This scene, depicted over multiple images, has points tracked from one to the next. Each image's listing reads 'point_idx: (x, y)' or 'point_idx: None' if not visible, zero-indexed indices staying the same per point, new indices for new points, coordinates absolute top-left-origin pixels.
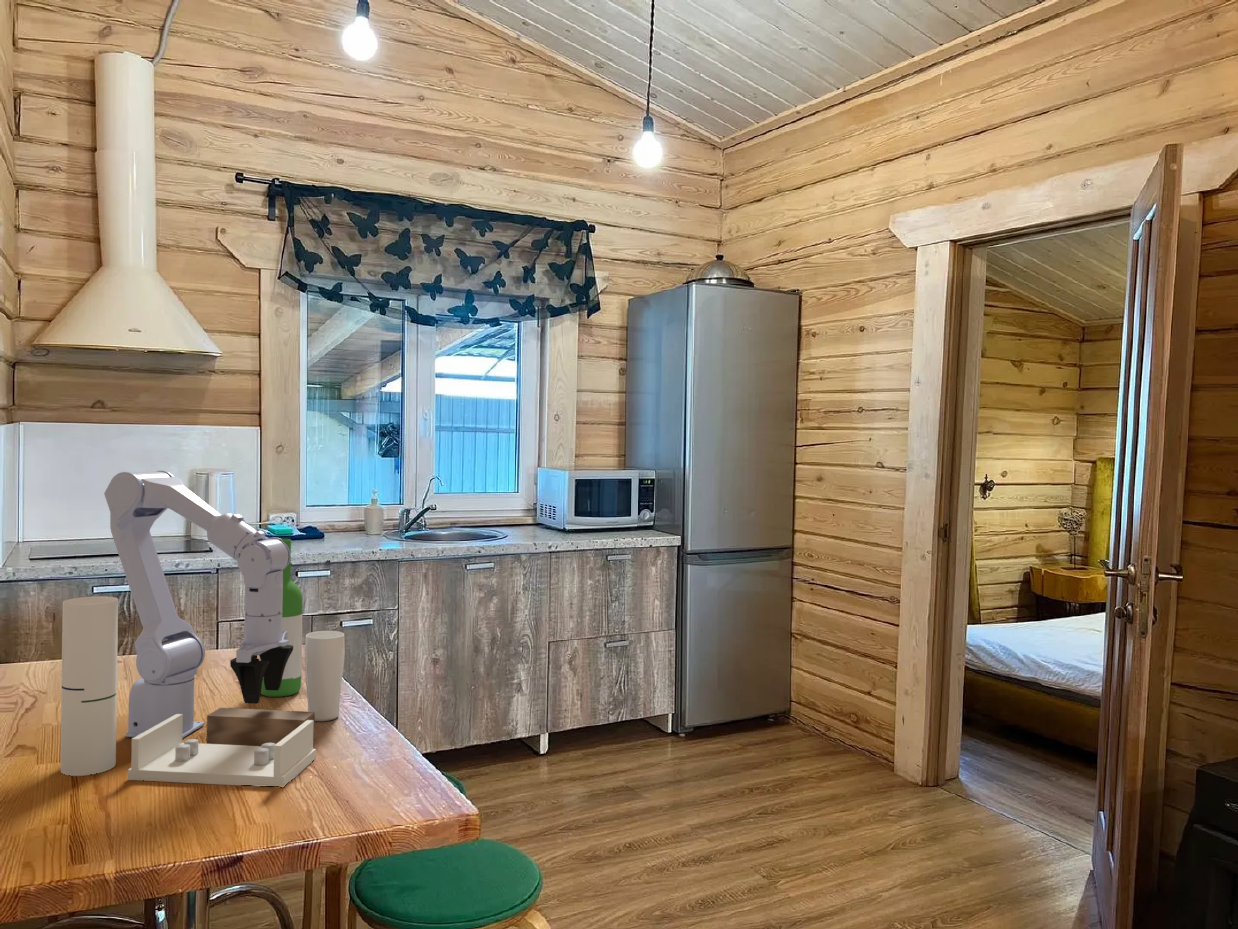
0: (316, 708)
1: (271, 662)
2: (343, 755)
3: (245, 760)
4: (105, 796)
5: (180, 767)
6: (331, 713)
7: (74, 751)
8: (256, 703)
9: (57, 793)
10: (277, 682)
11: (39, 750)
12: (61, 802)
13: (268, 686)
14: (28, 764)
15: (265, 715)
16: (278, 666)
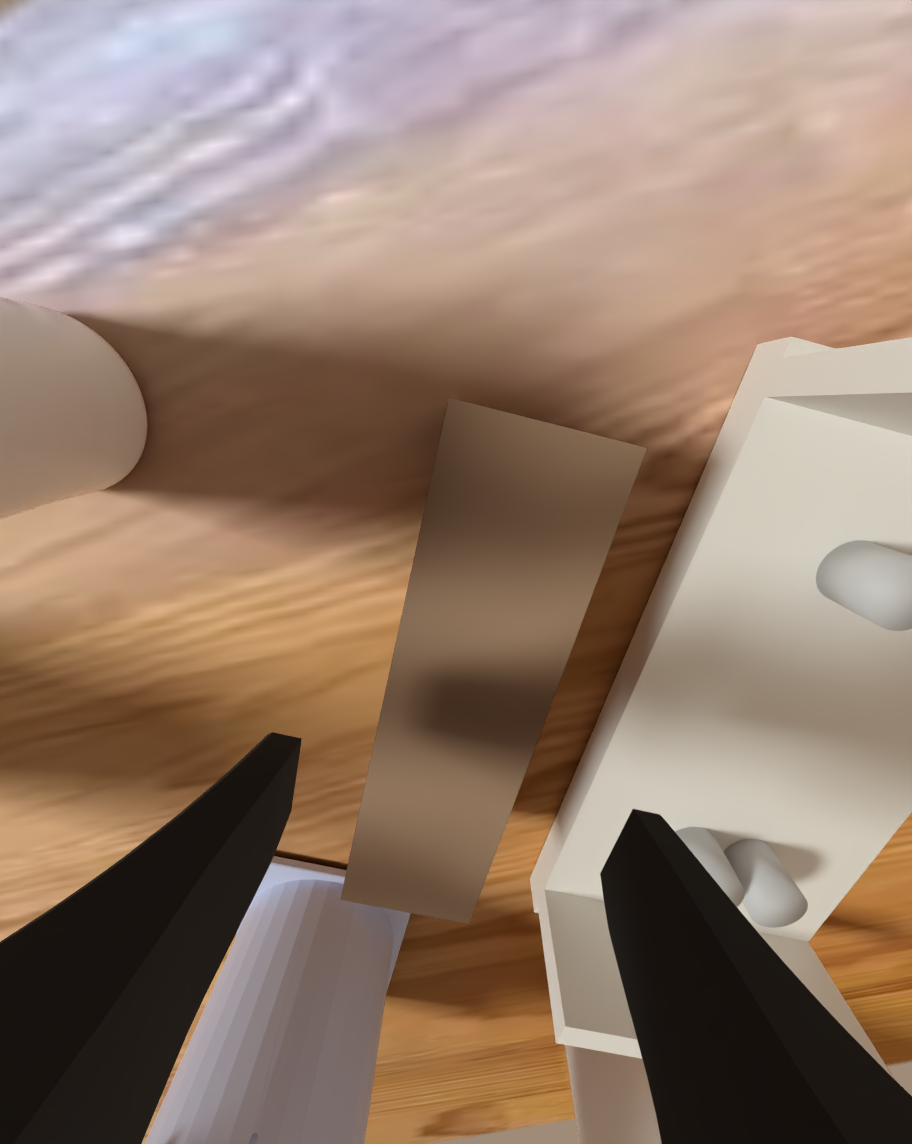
0: (97, 440)
1: (129, 1100)
2: (746, 173)
3: (846, 659)
4: (889, 942)
5: (836, 849)
6: (90, 342)
7: None
8: (659, 818)
9: None
10: (271, 793)
11: (469, 1103)
12: (888, 1005)
13: (279, 820)
14: (571, 1099)
15: (498, 698)
16: (162, 970)
